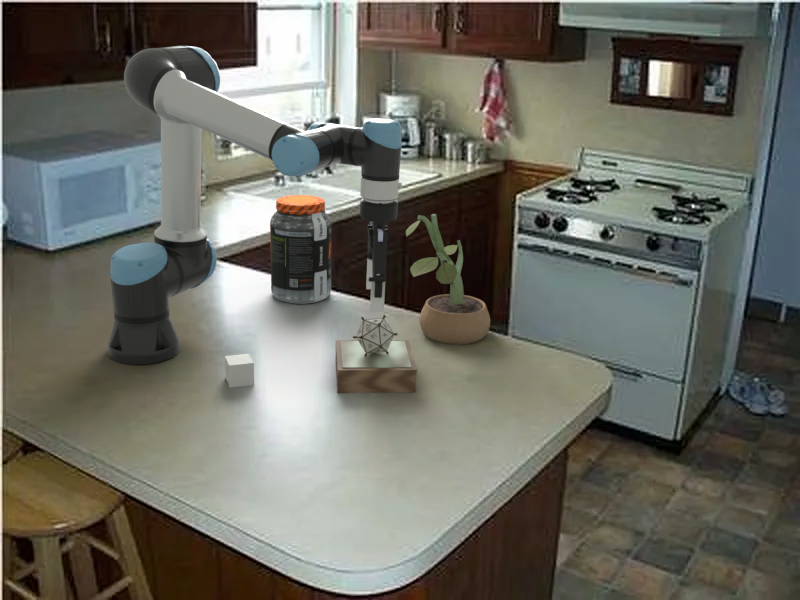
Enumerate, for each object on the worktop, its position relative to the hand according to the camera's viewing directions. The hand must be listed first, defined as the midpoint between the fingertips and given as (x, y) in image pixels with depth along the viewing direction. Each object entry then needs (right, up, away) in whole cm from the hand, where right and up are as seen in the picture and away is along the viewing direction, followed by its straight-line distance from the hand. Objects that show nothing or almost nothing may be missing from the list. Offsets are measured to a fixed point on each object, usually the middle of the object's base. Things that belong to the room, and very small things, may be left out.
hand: (374, 299), depth 186 cm
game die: (0, -11, +4) cm, 12 cm away
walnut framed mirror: (0, -16, +5) cm, 17 cm away
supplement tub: (-21, +1, +53) cm, 57 cm away
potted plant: (+15, -9, +30) cm, 35 cm away
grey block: (-28, -17, +1) cm, 33 cm away
